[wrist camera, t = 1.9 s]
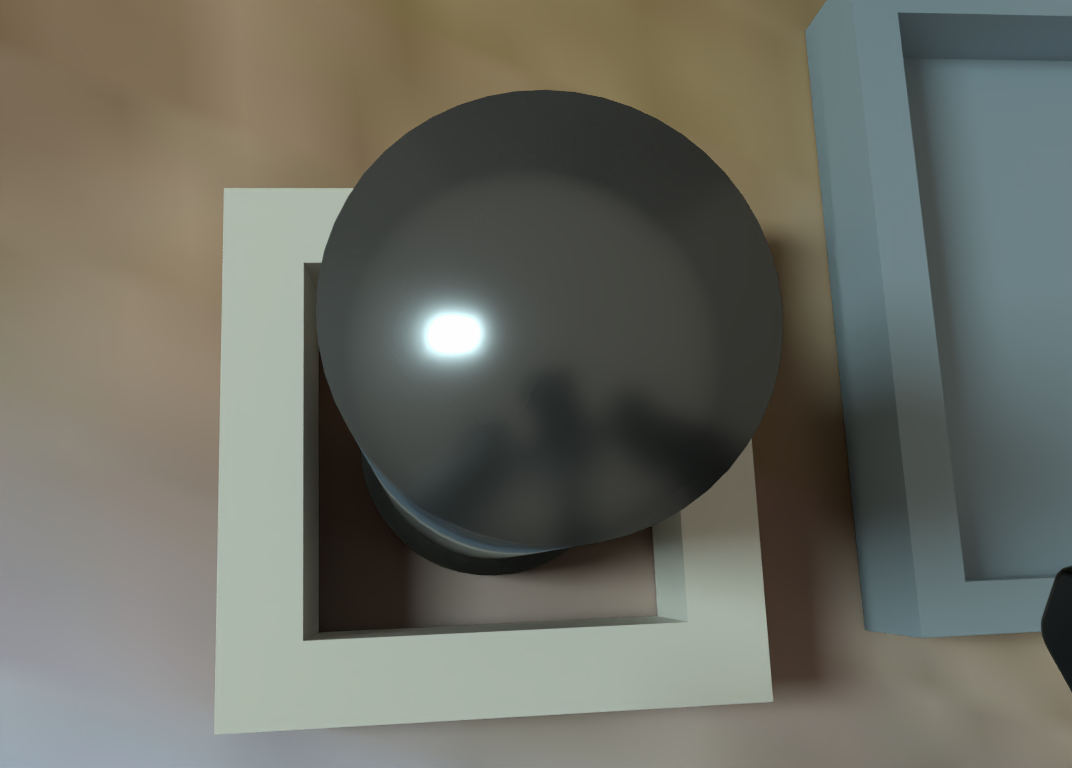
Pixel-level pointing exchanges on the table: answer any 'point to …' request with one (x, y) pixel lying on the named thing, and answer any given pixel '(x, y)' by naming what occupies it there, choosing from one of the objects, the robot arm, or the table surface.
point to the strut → (545, 327)
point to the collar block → (427, 652)
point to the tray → (951, 300)
